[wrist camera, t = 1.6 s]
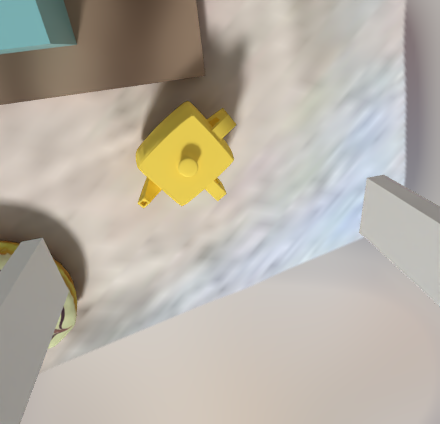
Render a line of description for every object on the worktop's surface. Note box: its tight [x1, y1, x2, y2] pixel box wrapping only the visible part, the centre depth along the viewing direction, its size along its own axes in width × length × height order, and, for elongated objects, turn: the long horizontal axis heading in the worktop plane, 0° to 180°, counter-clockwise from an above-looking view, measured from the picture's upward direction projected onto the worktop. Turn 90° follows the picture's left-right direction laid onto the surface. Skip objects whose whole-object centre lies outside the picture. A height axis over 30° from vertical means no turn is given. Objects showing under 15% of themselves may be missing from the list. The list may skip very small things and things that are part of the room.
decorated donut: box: [0, 241, 77, 349], centre depth 23 cm, size 10×11×4 cm
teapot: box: [136, 101, 236, 208], centre depth 20 cm, size 8×6×5 cm
